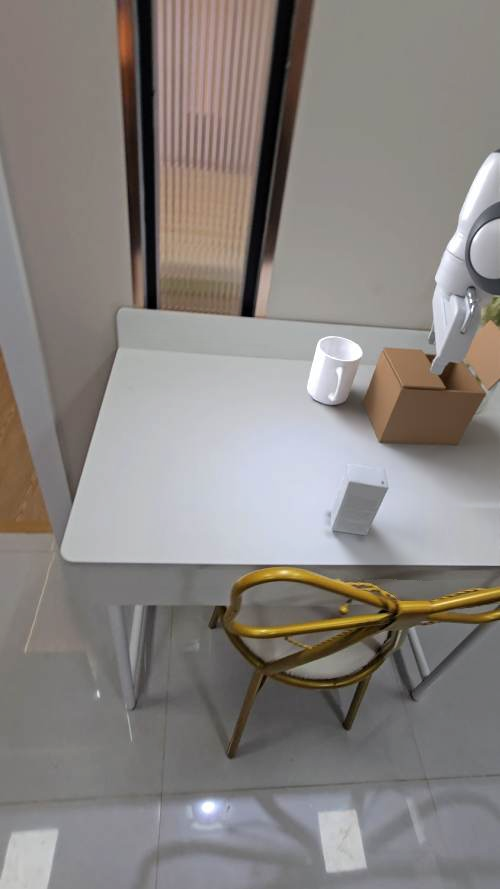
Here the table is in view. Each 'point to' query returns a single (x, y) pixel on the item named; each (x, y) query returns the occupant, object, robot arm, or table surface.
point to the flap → (486, 355)
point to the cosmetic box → (358, 499)
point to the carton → (420, 399)
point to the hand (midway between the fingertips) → (433, 356)
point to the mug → (333, 370)
